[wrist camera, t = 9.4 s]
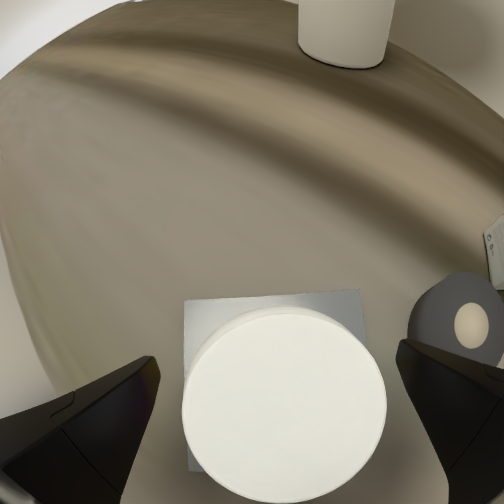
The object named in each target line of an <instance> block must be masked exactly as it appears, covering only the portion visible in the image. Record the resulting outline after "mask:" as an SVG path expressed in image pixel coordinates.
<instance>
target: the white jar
mask: <svg viewBox="0 0 504 504" xmlns="http://www.w3.org/2000/svg"><path fill="white" fill-rule="evenodd" d="M394 4H395V0H299V28H298V43H299V45H300V47H301V48H302V50H303V51H304V52H305V53H306V54H308V55H309V56H311V57H312V58H315V59H317V60H320V61H322V62H324V63H328V64H332V65H336V66H340V67H348V68H368V67H373V66H376V65H377V64H379V63H380V62H381V61H382V60H383V57H384V53H385V49H386V44H387V39H388V35H389V30H390V25H391V20H392V15H393V9H394Z"/></svg>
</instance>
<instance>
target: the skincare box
mask: <svg viewBox="0 0 504 504" xmlns="http://www.w3.org/2000/svg"><path fill="white" fill-rule="evenodd" d="M484 238H485V243H486V248H487V255H488V263H489V272H490V281H491V284H492V285H493V287H494V288H495V289H496V290H504V214H503V215H502V216H501V217H500V218H499V219H498V220H497V221H495V222H494V223H493V224H492V225H491V226H490V227H489V228H488V229H487V230H486V231H485V232H484Z"/></svg>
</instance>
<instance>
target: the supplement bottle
mask: <svg viewBox="0 0 504 504" xmlns="http://www.w3.org/2000/svg"><path fill="white" fill-rule="evenodd" d="M386 411H387V399H386V390H385V385H384V381H383V378H382V375H381V373H380V371H379V368H378V366H377V364H376V362H375V360H374V358H373V357H372V356H371V354H370V353H369V352H368V350H367V349H366V348H365V347H364V345H363V344H362V343H361V342H360V341H359V340H358V339H357V338H356V337H355V336H354V335H353V334H352V333H351V332H350V331H349V330H348V329H347V328H346V327H344V326H343V325H342V324H341V323H339V322H337V321H336V320H334V319H333V318H331V317H329V316H327V315H325V314H322V313H320V312H317V311H315V310H311V309H308V308H303V307H298V306H287V305H276V306H268V307H262V308H257V309H254V310H250V311H248V312H245V313H243V314H240V315H238V316H236V317H234V318H233V319H231V320H230V321H228V322H227V323H225V324H223V325H222V326H221V327H219V328H218V329H217V330H216V331H215V332H213V333H212V334H211V335H210V336H209V337H208V338H207V340H206V341H205V342H204V343H203V344H202V346H201V347H200V348H199V350H198V351H197V353H196V355H195V356H194V358H193V360H192V362H191V364H190V367H189V369H188V372H187V376H186V380H185V384H184V391H183V402H182V421H183V427H184V433H185V436H186V439H187V442H188V445H189V447H190V449H191V451H192V453H193V455H194V457H195V458H196V460H197V461H198V463H199V464H200V465H201V466H202V467H203V469H204V470H205V471H206V472H207V473H208V474H209V475H210V476H211V477H212V478H213V479H214V480H215V481H216V482H218V483H219V484H221V485H222V486H224V487H225V488H227V489H228V490H230V491H232V492H234V493H236V494H238V495H240V496H243V497H245V498H249V499H252V500H256V501H260V502H266V503H277V504H278V503H296V502H301V501H306V500H310V499H314V498H317V497H319V496H322V495H325V494H327V493H329V492H331V491H333V490H335V489H337V488H338V487H340V486H341V485H343V484H344V483H346V482H347V481H348V480H350V479H351V478H352V477H353V476H354V475H355V474H356V473H357V472H358V471H360V470H361V468H362V467H363V466H364V465H365V464H366V463H367V461H368V460H369V458H370V457H371V455H372V454H373V452H374V450H375V448H376V447H377V445H378V442H379V440H380V438H381V435H382V431H383V428H384V424H385V419H386Z"/></svg>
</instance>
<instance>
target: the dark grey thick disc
mask: <svg viewBox="0 0 504 504" xmlns="http://www.w3.org/2000/svg"><path fill="white" fill-rule="evenodd" d="M408 338H411V339H414V340H417V341H420V342H422V343H425V344H428V345H431V346H434V347H437V348H440V349H442V350H445V351H448V352H451V353H454V354H457V355H460V356H463V357H466V358H469V359H472V360H475V361H478V362H481V363H482V364H483V363H485V364H488V365H491V366H494V367H496V366H497V365H498V363H499V361H500V360H501V357H502V355H503V353H504V304H503V302H502V300H501V297H500V295H499V294H498V292H497V291H496V289H495V288H494V287H493V285H492V284H491V283H490V282H489V281H488V280H486V279H485V278H484V277H482V276H480V275H478V274H476V273H473V272H466V271H463V272H457V273H454V274H451V275H449V276H448V277H446V278H445V279H443V280H442V281H441V282H439V283H438V284H436V285H435V286H434V287H432V288H431V289H429V290H428V291H426V292H425V293H424V294H423V295H422V296H421V297H420V298H419V299H418V301H417V302H416V304H415V306H414V308H413V310H412V313H411V315H410V319H409V323H408Z"/></svg>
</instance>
